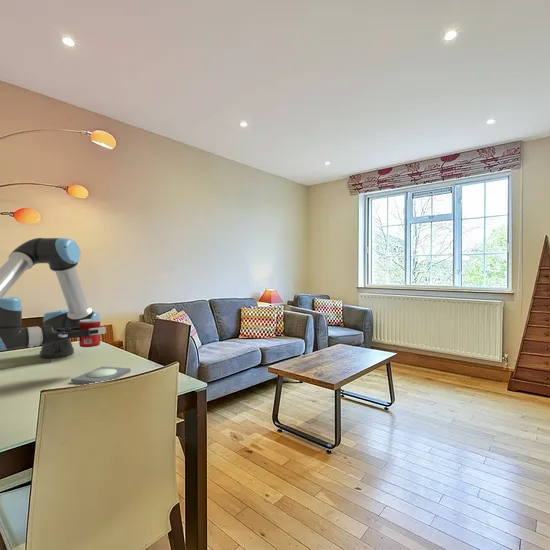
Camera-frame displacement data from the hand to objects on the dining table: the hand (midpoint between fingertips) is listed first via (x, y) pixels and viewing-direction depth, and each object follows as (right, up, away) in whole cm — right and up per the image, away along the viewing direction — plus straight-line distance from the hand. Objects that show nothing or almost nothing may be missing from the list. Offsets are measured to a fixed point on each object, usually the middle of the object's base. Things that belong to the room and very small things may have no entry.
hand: (101, 329), depth 150 cm
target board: (+4, -19, -8) cm, 21 cm away
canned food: (-3, -7, -3) cm, 8 cm away
